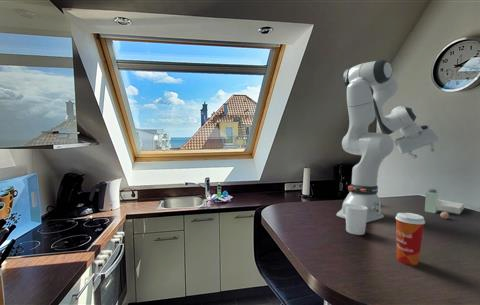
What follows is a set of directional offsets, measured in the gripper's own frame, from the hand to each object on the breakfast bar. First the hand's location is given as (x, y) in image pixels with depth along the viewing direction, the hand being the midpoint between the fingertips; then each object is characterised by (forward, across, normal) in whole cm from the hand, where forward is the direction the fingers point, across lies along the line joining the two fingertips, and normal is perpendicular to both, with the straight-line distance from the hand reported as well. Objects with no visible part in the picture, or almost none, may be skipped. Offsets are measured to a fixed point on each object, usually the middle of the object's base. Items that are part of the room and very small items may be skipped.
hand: (424, 154), depth 148 cm
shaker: (+28, -13, -4) cm, 31 cm away
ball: (+31, -14, -16) cm, 38 cm away
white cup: (+22, -57, -46) cm, 76 cm away
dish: (+30, -2, +3) cm, 30 cm away
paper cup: (+32, -49, -66) cm, 89 cm away
